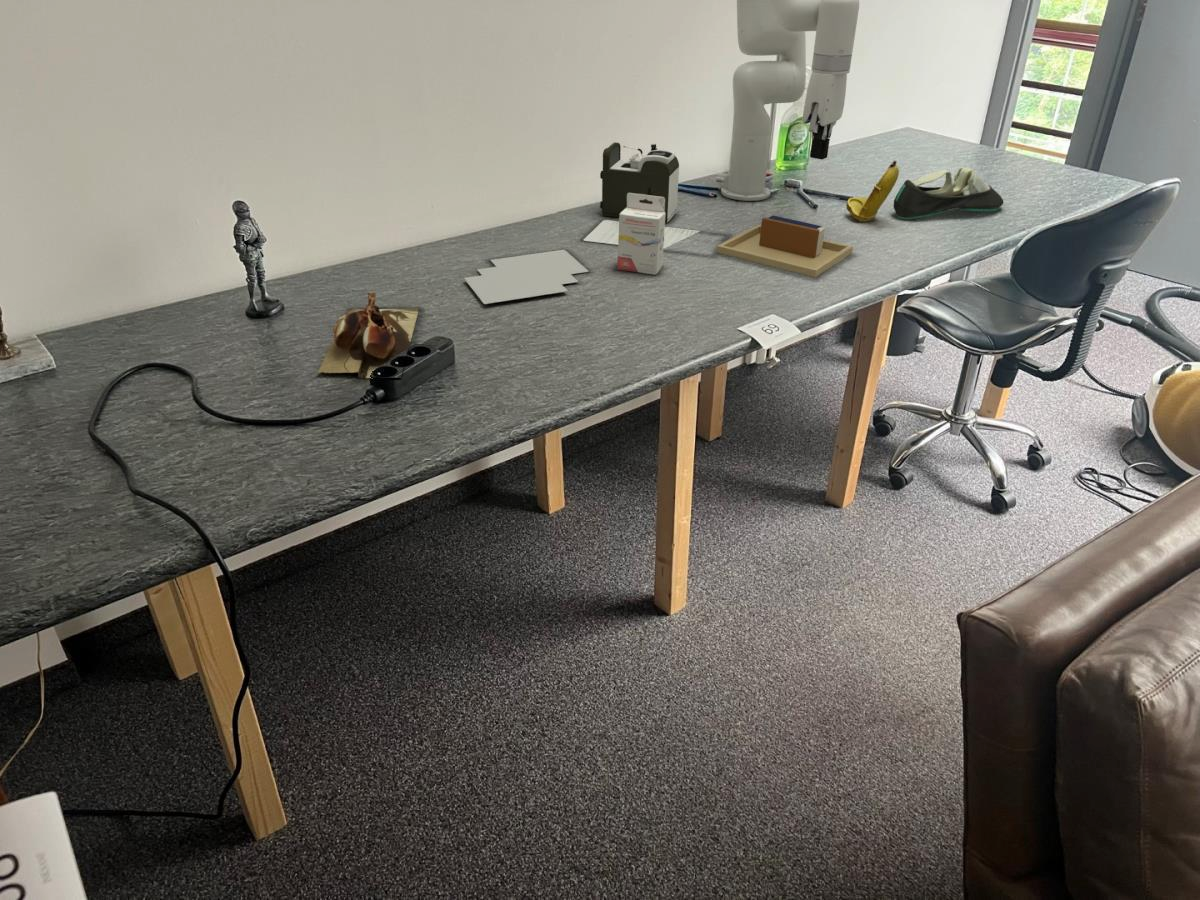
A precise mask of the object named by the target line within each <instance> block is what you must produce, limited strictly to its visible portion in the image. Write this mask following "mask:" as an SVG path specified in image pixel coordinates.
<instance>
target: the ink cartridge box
mask: <svg viewBox="0 0 1200 900" xmlns="http://www.w3.org/2000/svg"><path fill="white" fill-rule="evenodd" d="M644 199H647V200H648V201H652V202H653V203H652V204H646V203H640V202H639V200H644ZM665 214H666V213H665V198H664V197H659V196H652V195H644V194H634V193H627V208H625V209H624V210H623V211H622V212H621V213H620V214H619V217H618V221H619V237H618V245H617V270H619V271H628V272H635V273H642V274H647V275H648V274H649V275H652V276H653V275H654V276H656V275H658V273H659V272H660V270H661V269H662V268H663V263H664V249H663V247H664V230H665V227H666V222H665Z"/></svg>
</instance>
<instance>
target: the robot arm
mask: <svg viewBox="0 0 1200 900" xmlns="http://www.w3.org/2000/svg"><path fill="white" fill-rule="evenodd" d="M859 10H860V0H736V27H737V44H738V48H739V50H740V51H739V52H741V53H742V54H744V55H745V56H746V55H747V56H753V57H754V56H757V57H758V56H759V57H760V56H761V57H762V56H763V57H764V56H779V57H780V60H754V61H747V62H745V63H742V64H740V65H739V66H738V67H737V68H736V69H735V71H734V73H733V76H732V95H733V96H732V97H733V116H732V117H733V119H732V130H731V131H732V132H731V143H730V152H729V153H730V154H729V166H728V173H725V172H720V171H718V172H717V173H716V175H715V182H717V183H722V184H723V186H722V187H721V188H720V194H721V195H722V196H723V197H724V198H727V199H730V200H734V201H742V202H756V201H757V202H758V201H764V200H766V199H769V197H770V196H771V189H770V188H768V187H766V182H767V172H768V162H769V155H770V146H771V137H772V129H773V128H772V127H773V125H772V119H771V117H770V115H769V113H768V112H767V109H766V108H765V105H770V104H791V103H795V102H797V101H799V100H800V99H801V98H802V97H803V95H804V92H805V88H806V79H807V78H806V77H807V69H806V67H807V66H806V64H807V62H806V61H807V60H806V59H807V58H806V56H807V55H806V53H807V52H806V50H807V49H806V47H807V46H806V45H807V44H806V43H807V42H806V32H815V39H814V45H813V54H812V60H811V61H812V62H811V68H810V69H811V73H810V77H809V80H808V85H807V89H806V94H805V99H804V105H803V111H802V118H801V120H802V123H803V124H809V127H808V132H809V133H811V144H810V145H811V146H810V152H809V153H810V154H809V157H810V158H811V159H815V160H816V159H817V160H821V161H822V160H825V159H827V158H828V154H829V147H830V140H831V137H832V133H833V128H834V126H835V125H836V124H837V122H838V121H839V120H840V119H841V118H842V117H843V113H844V107H845V100H846V91H847V80H848V74H849V73H850V72H851V71H850V70H851V65H852V59H853V51H854V44H855V37H856V31H857V25H858V17H859Z"/></svg>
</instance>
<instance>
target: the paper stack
mask: <svg viewBox="0 0 1200 900" xmlns="http://www.w3.org/2000/svg"><path fill="white" fill-rule="evenodd" d="M490 261H491V263H492V264H493V265H494V266H492V267H491V266H490V267H485V268H478V269H476V270H477V272H478V273H479V274H480V275H475V276H469V277H463V279H464V280H465V282H466V283H467V284H468V285H469V287H470V288H471V290H472V291H473V292H474V293H475V294H476V296H477V298H478V299H479V300H480V302H482V303H483V304H484V305H488V304H494V303H501V302H508V301H513V300H521V299H526V298H534V297H540V296H545V295H546V296H547V295H552V294H559V293H566V292H569V290H568V289H567V288H566V287H564V285H567V284H575V283H579V280H577V279H576V278H575V277H574V276H573V275H575V274H582V273H583V274H584V273H589V269H587V268H586V267H585V266H584V265H583V264H582V263H580V261H578V260H577V259H576V258H575V257H574V256H572V255H571V254H570V253H569V252H568V251H567V250H566V249H557V250H552V251H551V250H550V251H543V252H537V253H530V254H522V255H516V256H508V257H501V258H494V259H490Z"/></svg>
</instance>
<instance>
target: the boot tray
mask: <svg viewBox="0 0 1200 900" xmlns="http://www.w3.org/2000/svg"><path fill="white" fill-rule="evenodd" d="M760 233H761V224H756V225H754V226H753V227H750V228H748V229H747V230H745V231H743V232H741V233H739V234H737V235H735V236H733V237H731V238H729V239H727V240H725V241H723V242H722V243H719V244H717V246H716V254H720V255H723V256H728V257H732V258H736V259H739V260H743V261H747V262H751V263H755V264H760V265H764V266H768V267H771V268H776V269H780V270H783V271H786V272H791V273H795V274H799V275H803V276H806V277H810V278H814V279H815V278H817V277H818V276H820V275H821V274H823V273H825V272H827V271H828V270H829V269H830V268H832V267H834V266H835V265H837V264H838V263H840V262H841V261H843V260H844V259H846V258H847V257H849V256H850V255H852V254H853V249H854V246H853V245H849V244H844V243H841V242H836V241H831V240H828V239H823V245H822V251H821V253H820V254H818V255H817V256H816V257H815V258H810V257H806V256H801V255H797V254H793V253H789V252H785V251H781V250H777V249H772V248H768V247H764V246H760V245H759V242H760Z"/></svg>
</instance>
